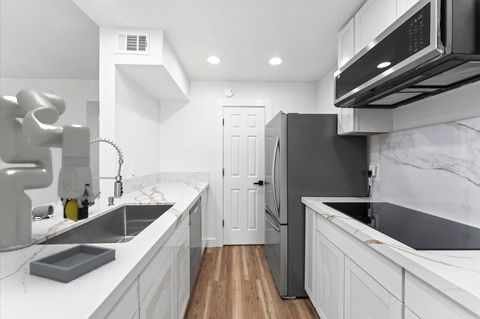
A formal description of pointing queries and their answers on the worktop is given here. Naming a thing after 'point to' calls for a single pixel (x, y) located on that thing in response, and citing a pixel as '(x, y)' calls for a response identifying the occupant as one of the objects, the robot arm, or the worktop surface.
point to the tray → (72, 262)
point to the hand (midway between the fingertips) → (75, 218)
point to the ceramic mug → (42, 211)
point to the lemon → (72, 209)
